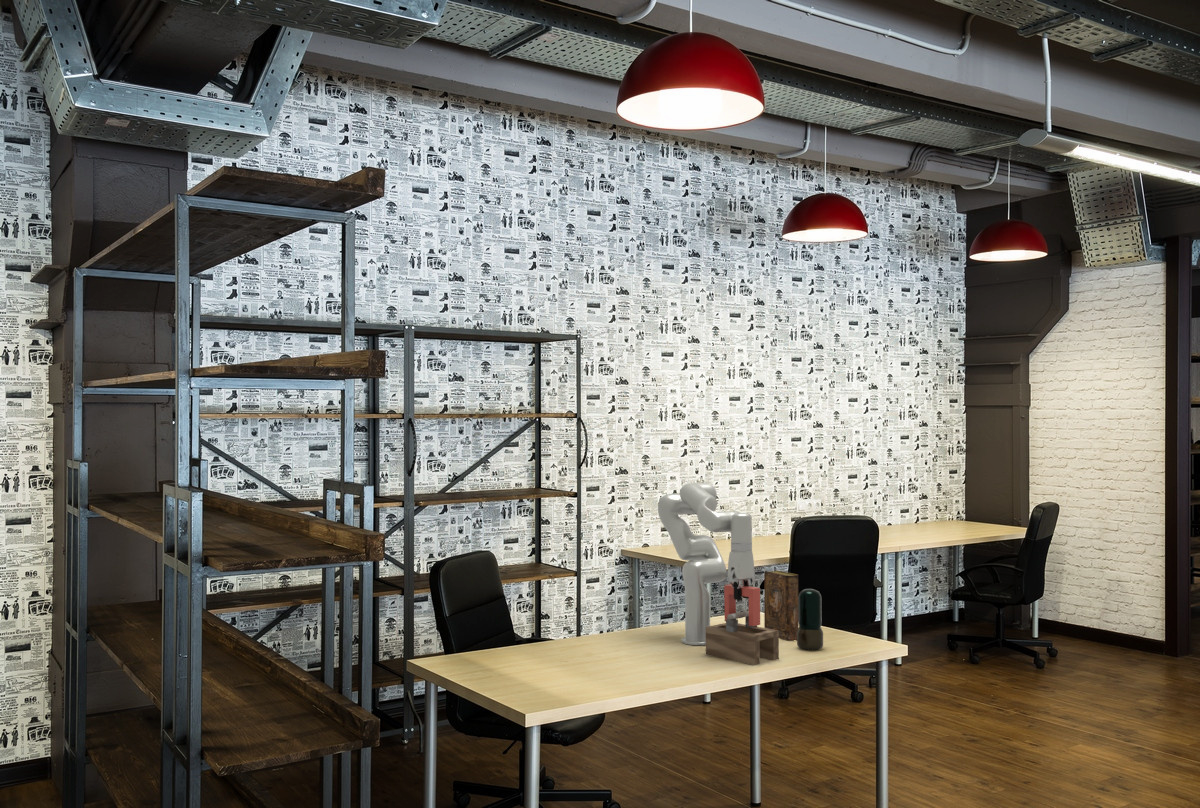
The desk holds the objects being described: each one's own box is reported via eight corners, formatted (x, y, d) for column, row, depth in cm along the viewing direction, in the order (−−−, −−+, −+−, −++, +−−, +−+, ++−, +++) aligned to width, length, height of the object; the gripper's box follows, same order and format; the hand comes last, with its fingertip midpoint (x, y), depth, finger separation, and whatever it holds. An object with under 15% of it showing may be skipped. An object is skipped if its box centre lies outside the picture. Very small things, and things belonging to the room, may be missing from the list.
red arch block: (731, 619, 363) (731, 584, 364) (760, 624, 354) (759, 587, 354) (724, 621, 360) (724, 585, 361) (753, 626, 351) (752, 589, 351)
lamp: (823, 651, 365) (823, 591, 365) (796, 650, 367) (796, 590, 367) (823, 646, 374) (822, 587, 375) (797, 645, 376) (796, 586, 377)
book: (800, 640, 386) (800, 575, 386) (788, 641, 383) (788, 576, 384) (775, 632, 400) (775, 569, 401) (764, 633, 398) (764, 570, 399)
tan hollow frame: (730, 648, 370) (730, 605, 370) (778, 658, 354) (778, 613, 354) (705, 654, 360) (705, 610, 361) (754, 665, 344) (754, 618, 345)
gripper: (747, 545, 367) (748, 595, 366) (718, 548, 355) (718, 600, 354) (764, 546, 361) (764, 597, 360) (734, 550, 350) (735, 602, 349)
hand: (741, 598), depth 357 cm, fingers closed on red arch block, 4 cm apart
